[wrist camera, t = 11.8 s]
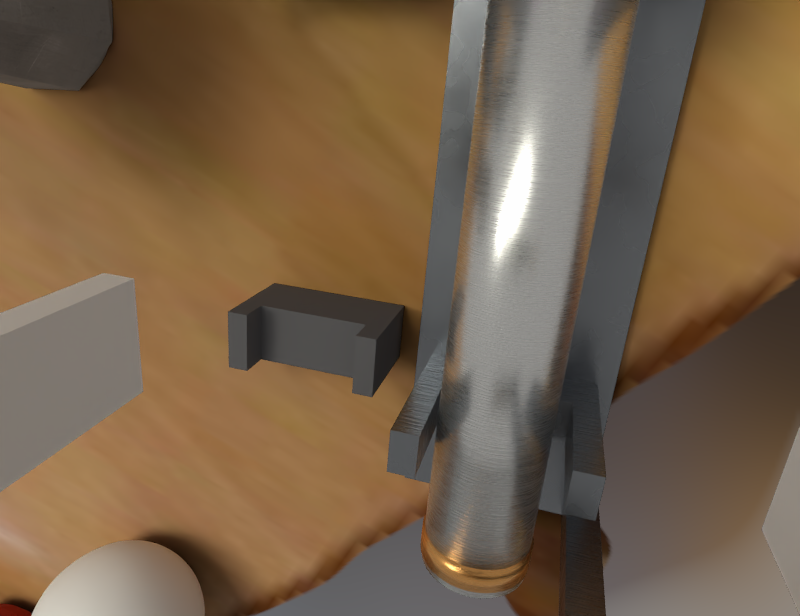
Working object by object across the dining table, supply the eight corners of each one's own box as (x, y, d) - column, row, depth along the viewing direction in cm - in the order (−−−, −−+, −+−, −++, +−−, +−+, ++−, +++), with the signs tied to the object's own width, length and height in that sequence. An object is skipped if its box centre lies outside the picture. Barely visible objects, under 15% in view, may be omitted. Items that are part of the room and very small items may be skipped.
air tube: (521, -110, 22) (482, -166, 18) (671, -114, 20) (671, -178, 16) (441, 507, 32) (402, 573, 27) (537, 541, 30) (514, 617, 26)
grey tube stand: (486, -261, 24) (365, -767, 10) (777, -272, 21) (1151, -952, 8) (408, 476, 36) (304, 712, 22) (588, 518, 33) (600, 813, 20)
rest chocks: (278, -89, 28) (220, -126, 23) (440, -84, 26) (412, -123, 21) (273, 332, 35) (228, 367, 30) (399, 356, 33) (372, 397, 29)
